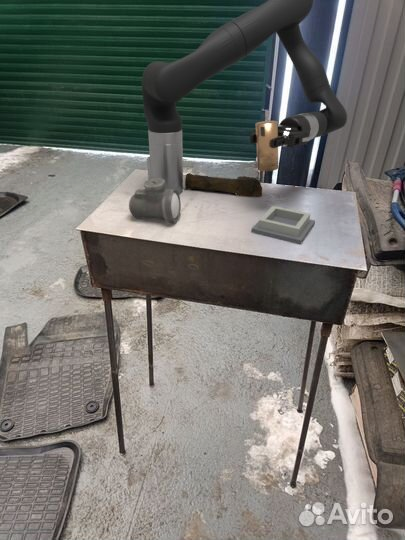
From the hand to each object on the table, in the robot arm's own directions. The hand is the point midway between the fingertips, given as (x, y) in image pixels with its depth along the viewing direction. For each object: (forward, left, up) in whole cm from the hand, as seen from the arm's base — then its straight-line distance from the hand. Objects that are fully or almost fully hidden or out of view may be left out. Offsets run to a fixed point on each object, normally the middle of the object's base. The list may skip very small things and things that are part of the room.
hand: (261, 141), depth 91 cm
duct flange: (+10, -7, -18) cm, 22 cm away
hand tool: (-13, +8, -18) cm, 24 cm away
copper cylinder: (+2, +2, -7) cm, 7 cm away
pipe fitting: (-20, -18, -18) cm, 32 cm away
